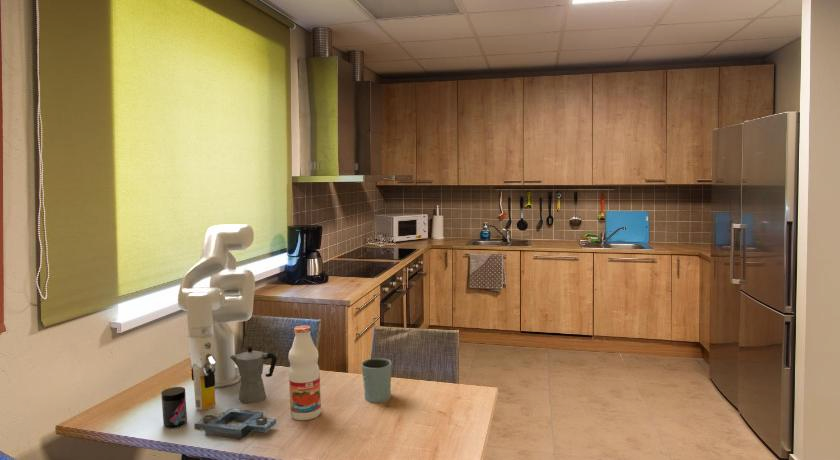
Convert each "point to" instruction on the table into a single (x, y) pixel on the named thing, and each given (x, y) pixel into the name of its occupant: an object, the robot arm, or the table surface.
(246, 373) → the coffeepot
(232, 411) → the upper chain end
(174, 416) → the supplement container
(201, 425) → the lower chain end
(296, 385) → the fruit juice
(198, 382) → the beer can
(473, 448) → the table surface
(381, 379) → the drinking glass
